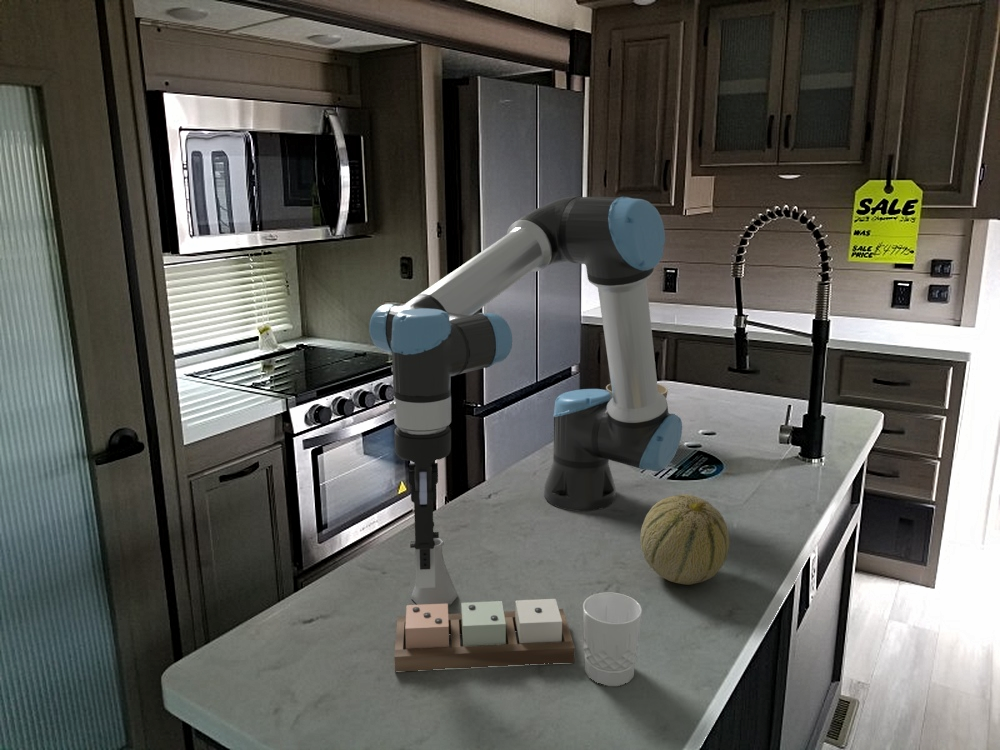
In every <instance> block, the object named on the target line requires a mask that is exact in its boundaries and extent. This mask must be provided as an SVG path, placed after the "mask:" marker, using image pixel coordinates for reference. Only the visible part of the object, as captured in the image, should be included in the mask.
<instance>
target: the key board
mask: <svg viewBox="0 0 1000 750" xmlns="http://www.w3.org/2000/svg"><path fill="white" fill-rule="evenodd" d="M558 609H559V612H560V616H561V619H562V641H559V642H538V643H518V641H517V636H516V632H515V631H517V626H516V621H515V610H509V611H504V616H505V623H506V644H496V645H476V646H461V636H460V635H462V615H461V613H460V612H459V613H448V623H449V634H451V635H450V645H451V646H449V647H434V648H413V649H406V648H405V647H406V635H405V625H406V615H399V616H397V618H396V619H397V620H396V631H395V632H396V634H395V642H394V643H395V644H394V658H393V659H394V673H395V672H396V671H418V670H433V669H445V668H471V667H488V666H508V665H525V664H529V665H530V664H544V663H545V664H548V663H549V664H553V663H574V664H575V652H576V651H575V649H576V647H575V644H574V642H573V639H572V634H571V632H570V628H569V625H568V621H567V618H566V616H565V612H564V609H563V608H558ZM404 646H405V647H404ZM418 672H419V671H418Z"/></svg>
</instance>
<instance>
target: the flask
mask: <svg viewBox="0 0 1000 750" xmlns="http://www.w3.org/2000/svg"><path fill="white" fill-rule="evenodd" d="M433 540H435V588H416V584H415V585H414V587H413V590H412V592H411V593H412V594H411V596H410V598H411V600H412V601H413V602H415V605H423V604H446V603H448V606H450V605H452V604H453V602H454V601H455V600H456V599H457V598H458V596H459V594H458V592H457V588H456V587H455V585H454V583H453V580H452V578H451V576H450V573H449V571H448V568H447V565H446V564H445V559H444V555H443V546H444V545H445V542H444V540H442V538H440V537H439V538H433Z"/></svg>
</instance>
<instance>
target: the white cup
mask: <svg viewBox="0 0 1000 750" xmlns="http://www.w3.org/2000/svg"><path fill="white" fill-rule="evenodd" d="M642 612H643V609H642V606H641V604H640V603H639V601H637V600H636V599H634V598H633V597H631V596H628V595H626V594H623V593H619V592H610V591H608V592H607V591H606V592H605V591H604V592H598V593H594V594H591V595H590V596H588V597H587V598H586V599H585V600H584V602H583V603H582V620H583V621H582V622H583V623H582V624H583V625H582V626H583V627H582V628H583V629H582V630H583V631H582V633H583V635H582V636H583V652H584V672H585V673H586V675H587V677H588V678H589V679H590V678H591V679H592V680H591V679H590V680H591V681H593V680H594V681H595V683H596V682H597V683H596V684H598V683H601V684H605V685H608V686H607V687H620V685H621V686H623V685H626V684H628V683H629V682H630V681H631V680H632V679H634V675H635V665H636V660H637V656H638V649H639V642H640V635H641V634H640V631H641V624H642V614H643V613H642ZM594 681H593V682H594ZM625 683H626V684H625ZM601 684H600V685H601ZM605 685H604V686H605ZM612 685H614V686H612Z"/></svg>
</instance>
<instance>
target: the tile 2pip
mask: <svg viewBox="0 0 1000 750" xmlns="http://www.w3.org/2000/svg"><path fill="white" fill-rule="evenodd" d="M460 604H461V606H460V607H461V609H460V610H461V611H460V612H461V615H462V634H461V636H462V647H464V646H485V645H506V623H505V616H504V612H505V611H504V607H503V601H502V600H500V601H499V600H497V601H496V600H495V601H473V602H472V601H471V602H461V603H460Z"/></svg>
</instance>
